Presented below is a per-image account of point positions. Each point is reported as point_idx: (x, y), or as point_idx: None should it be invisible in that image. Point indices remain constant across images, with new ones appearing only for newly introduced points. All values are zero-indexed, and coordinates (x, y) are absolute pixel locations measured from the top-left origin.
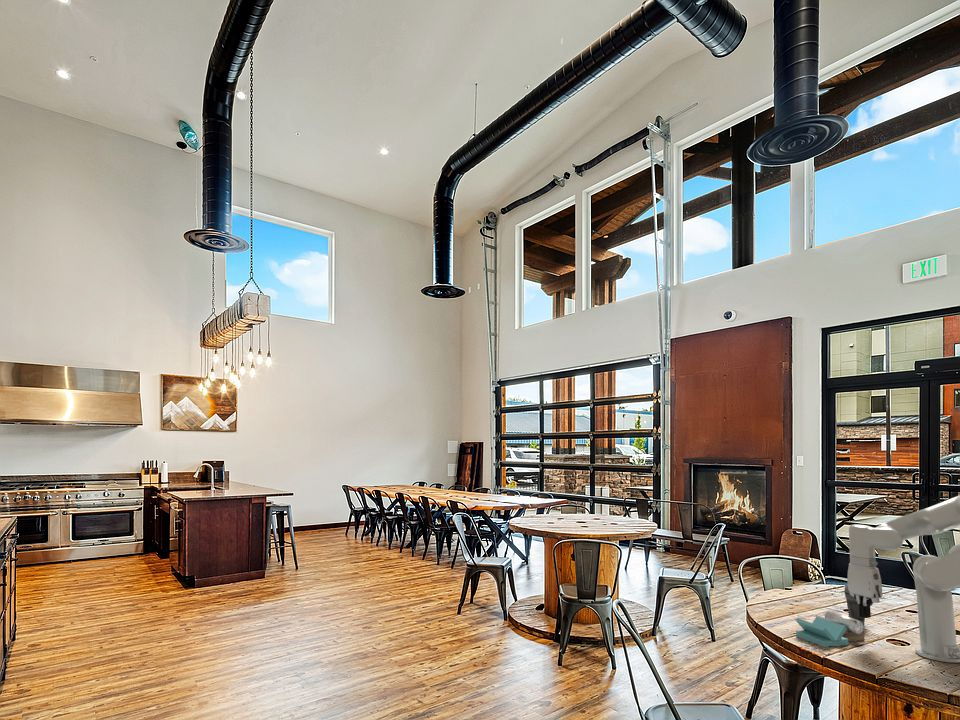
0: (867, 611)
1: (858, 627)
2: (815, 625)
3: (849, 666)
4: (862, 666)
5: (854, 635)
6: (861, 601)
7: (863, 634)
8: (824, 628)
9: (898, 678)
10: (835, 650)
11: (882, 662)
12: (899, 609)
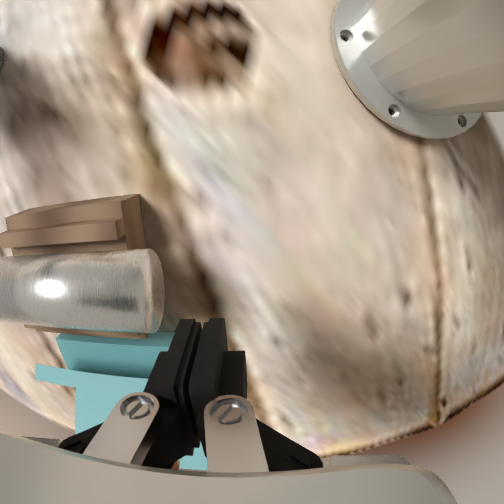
0: (245, 398)
1: (153, 289)
2: None
3: (369, 445)
4: (385, 422)
5: None
6: (167, 458)
7: (128, 202)
8: (206, 469)
9: (468, 390)
10: None
11: (395, 354)
12: None
